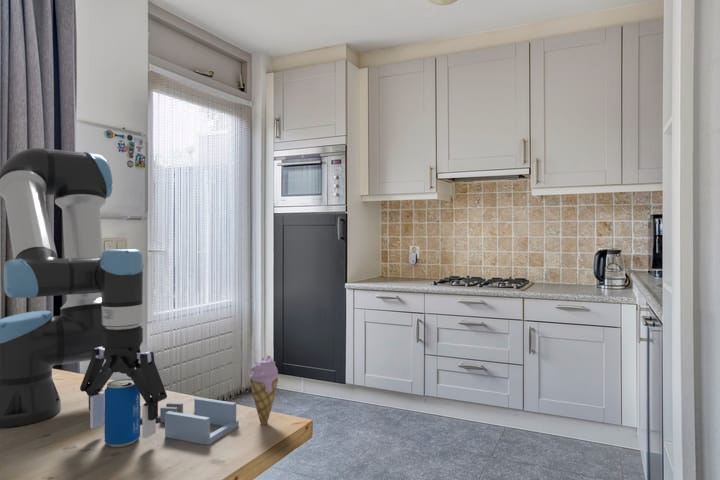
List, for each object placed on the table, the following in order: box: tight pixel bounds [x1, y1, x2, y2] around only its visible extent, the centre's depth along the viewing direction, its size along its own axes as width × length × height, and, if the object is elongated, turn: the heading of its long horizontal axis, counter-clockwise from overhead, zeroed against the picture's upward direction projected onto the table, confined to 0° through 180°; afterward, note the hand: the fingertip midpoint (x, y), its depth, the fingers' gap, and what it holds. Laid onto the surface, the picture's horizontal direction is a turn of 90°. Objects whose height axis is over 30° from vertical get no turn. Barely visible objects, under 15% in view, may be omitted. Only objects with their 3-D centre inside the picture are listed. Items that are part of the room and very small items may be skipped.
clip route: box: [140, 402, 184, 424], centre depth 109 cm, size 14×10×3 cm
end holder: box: [164, 397, 240, 446], centre depth 104 cm, size 11×10×5 cm
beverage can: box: [103, 378, 141, 448], centre depth 99 cm, size 6×6×12 cm
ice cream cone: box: [248, 354, 279, 426], centre depth 108 cm, size 7×6×15 cm
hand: (122, 430), depth 99 cm, fingers open, 13 cm apart
